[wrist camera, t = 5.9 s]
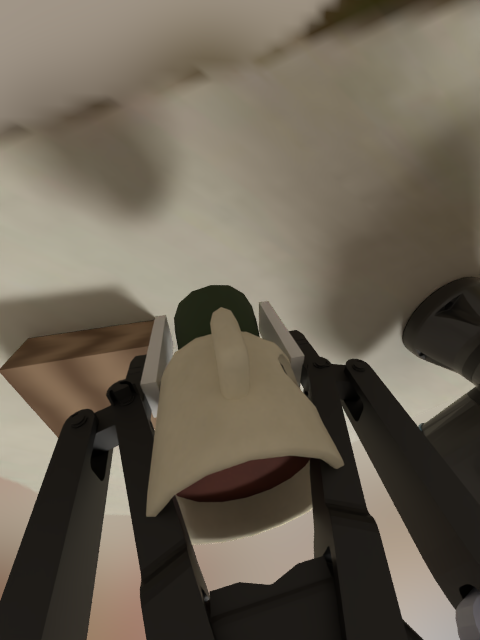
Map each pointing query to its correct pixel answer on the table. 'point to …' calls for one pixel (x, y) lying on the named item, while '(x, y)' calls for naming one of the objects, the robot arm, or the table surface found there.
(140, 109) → the table surface
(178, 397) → the character mug
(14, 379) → the walnut stand
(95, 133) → the table surface
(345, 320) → the table surface
